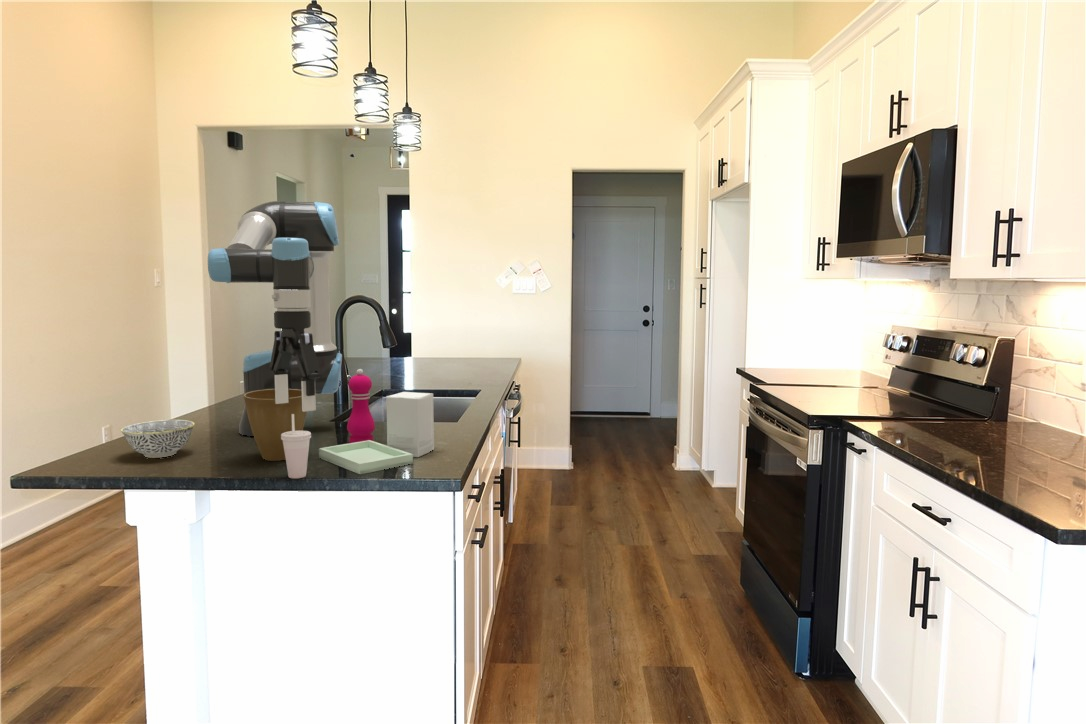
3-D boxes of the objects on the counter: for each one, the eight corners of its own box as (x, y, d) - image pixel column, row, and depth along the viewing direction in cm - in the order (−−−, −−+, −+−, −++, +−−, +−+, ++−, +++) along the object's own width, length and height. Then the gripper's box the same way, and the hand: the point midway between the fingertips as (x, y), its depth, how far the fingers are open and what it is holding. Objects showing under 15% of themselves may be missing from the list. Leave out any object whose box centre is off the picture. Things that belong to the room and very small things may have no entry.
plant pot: (232, 462, 171) (229, 396, 169) (271, 448, 185) (269, 387, 183) (287, 467, 167) (284, 399, 165) (322, 452, 181) (321, 390, 179)
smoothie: (286, 472, 163) (284, 411, 161) (315, 472, 163) (313, 411, 161) (278, 480, 156) (276, 417, 155) (308, 479, 157) (306, 416, 155)
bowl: (120, 466, 166) (118, 434, 165) (124, 452, 180) (122, 422, 179) (197, 459, 174) (195, 428, 173) (194, 445, 188) (193, 417, 187)
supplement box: (435, 450, 185) (434, 392, 183) (418, 458, 177) (417, 398, 175) (404, 447, 188) (403, 390, 186) (386, 455, 179) (385, 395, 178)
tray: (319, 458, 176) (318, 448, 176) (369, 449, 185) (369, 440, 185) (359, 474, 161) (359, 464, 161) (412, 463, 171) (412, 454, 171)
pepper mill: (368, 446, 188) (366, 371, 186) (342, 445, 190) (340, 370, 187) (379, 440, 195) (378, 367, 193) (355, 439, 197) (353, 366, 194)
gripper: (252, 308, 162) (255, 401, 164) (301, 311, 144) (304, 416, 146) (284, 308, 167) (287, 398, 169) (335, 311, 149) (338, 412, 151)
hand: (295, 407), depth 158 cm, fingers open, 13 cm apart
